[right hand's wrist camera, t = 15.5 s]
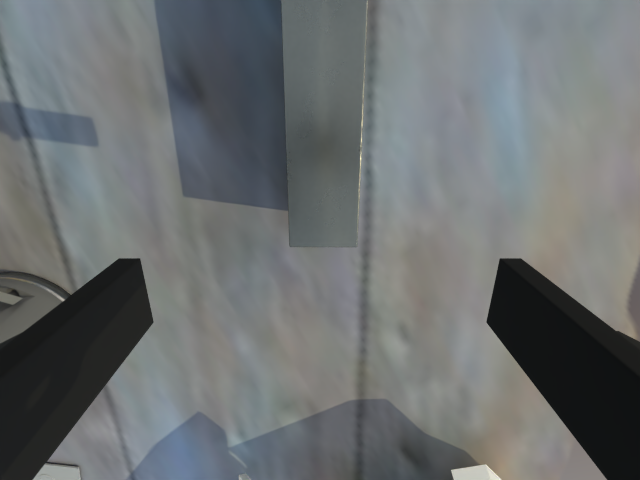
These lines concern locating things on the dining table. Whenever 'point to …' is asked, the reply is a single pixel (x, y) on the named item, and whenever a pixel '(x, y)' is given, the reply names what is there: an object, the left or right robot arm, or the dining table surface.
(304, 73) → the bar
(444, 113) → the dining table surface
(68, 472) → the invitation card
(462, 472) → the white plastic object
